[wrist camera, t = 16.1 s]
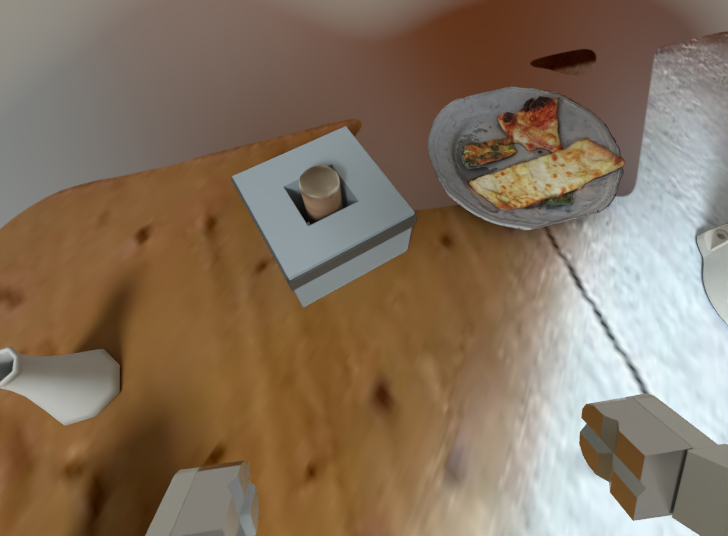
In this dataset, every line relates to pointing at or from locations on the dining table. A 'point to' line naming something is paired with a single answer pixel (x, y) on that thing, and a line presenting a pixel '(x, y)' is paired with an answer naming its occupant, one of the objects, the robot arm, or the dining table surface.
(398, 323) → the dining table surface
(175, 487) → the robot arm
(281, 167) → the collar block
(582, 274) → the dining table surface
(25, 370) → the flask
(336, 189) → the beige cylinder
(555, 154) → the food plate
